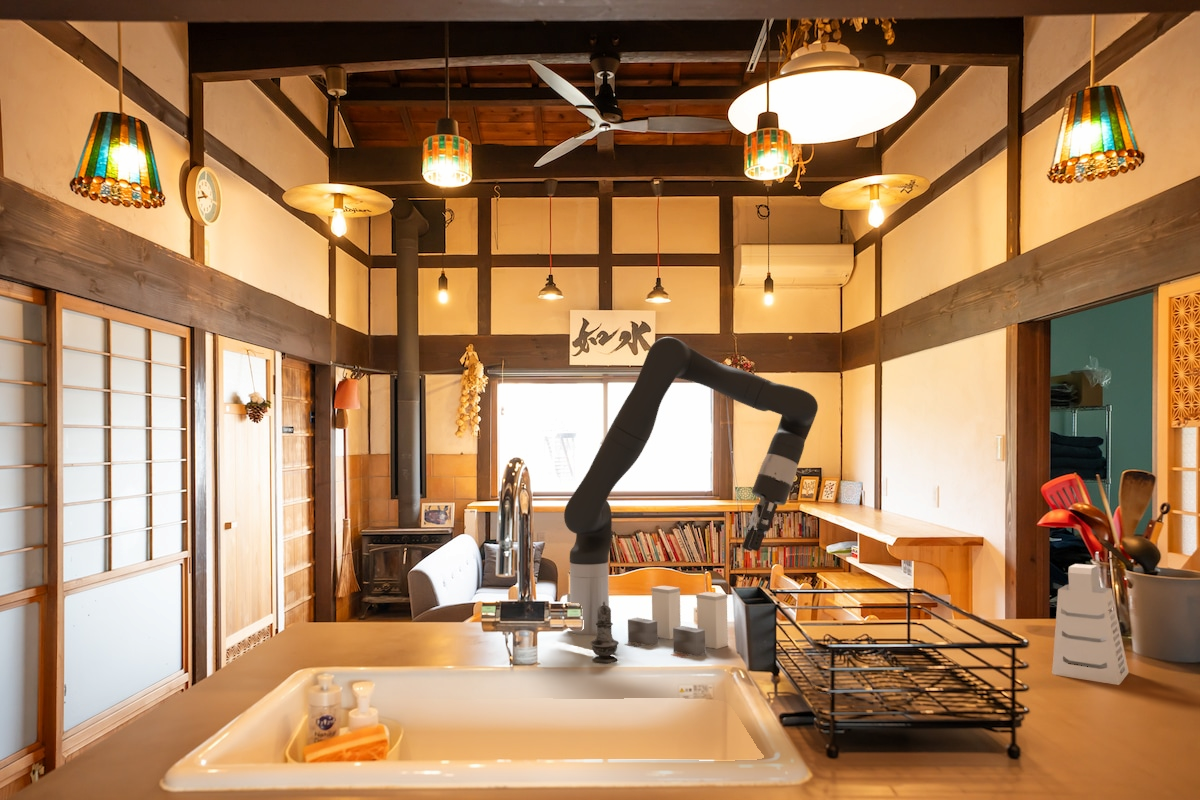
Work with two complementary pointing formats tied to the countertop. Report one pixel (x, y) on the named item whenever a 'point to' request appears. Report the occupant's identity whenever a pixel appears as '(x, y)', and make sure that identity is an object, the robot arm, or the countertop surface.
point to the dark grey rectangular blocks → (683, 637)
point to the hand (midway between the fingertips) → (749, 549)
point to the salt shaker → (604, 638)
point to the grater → (1088, 630)
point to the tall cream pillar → (666, 609)
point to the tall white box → (713, 618)
